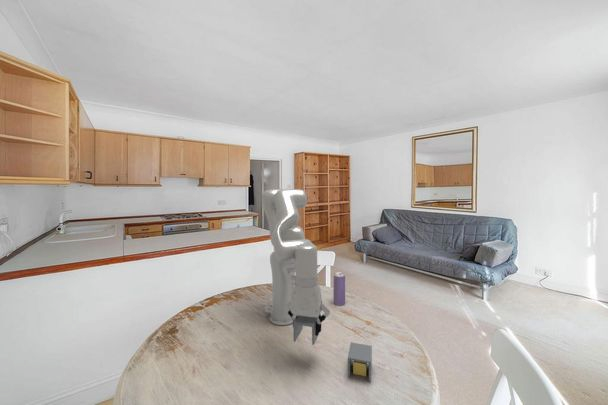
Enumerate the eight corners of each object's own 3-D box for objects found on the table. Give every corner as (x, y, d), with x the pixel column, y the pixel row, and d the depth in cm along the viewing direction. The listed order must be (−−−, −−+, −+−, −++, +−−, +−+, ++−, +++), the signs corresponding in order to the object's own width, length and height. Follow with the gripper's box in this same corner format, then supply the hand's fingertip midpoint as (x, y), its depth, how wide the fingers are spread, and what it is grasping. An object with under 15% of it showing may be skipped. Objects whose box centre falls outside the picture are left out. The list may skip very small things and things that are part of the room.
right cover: (347, 377, 78) (347, 357, 77) (350, 360, 85) (350, 342, 85) (370, 382, 76) (370, 362, 75) (371, 364, 83) (371, 345, 83)
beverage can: (344, 306, 124) (345, 276, 123) (333, 305, 125) (332, 276, 124) (345, 300, 130) (345, 272, 129) (333, 299, 131) (333, 272, 130)
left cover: (293, 341, 82) (293, 322, 82) (301, 328, 90) (300, 310, 89) (313, 345, 80) (313, 325, 80) (319, 331, 88) (319, 313, 87)
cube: (353, 374, 79) (353, 362, 79) (354, 365, 83) (354, 353, 83) (366, 376, 78) (366, 364, 78) (366, 368, 82) (366, 356, 81)
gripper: (278, 282, 83) (279, 333, 84) (329, 287, 78) (329, 342, 79) (286, 274, 90) (287, 322, 91) (333, 279, 85) (334, 329, 86)
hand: (307, 331), depth 85 cm, fingers closed on left cover, 7 cm apart
